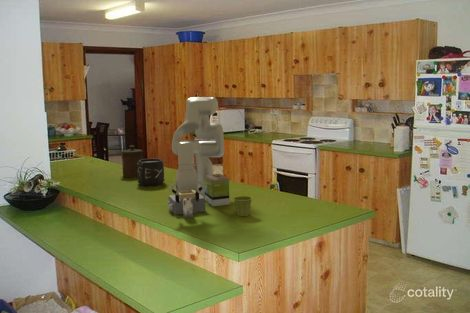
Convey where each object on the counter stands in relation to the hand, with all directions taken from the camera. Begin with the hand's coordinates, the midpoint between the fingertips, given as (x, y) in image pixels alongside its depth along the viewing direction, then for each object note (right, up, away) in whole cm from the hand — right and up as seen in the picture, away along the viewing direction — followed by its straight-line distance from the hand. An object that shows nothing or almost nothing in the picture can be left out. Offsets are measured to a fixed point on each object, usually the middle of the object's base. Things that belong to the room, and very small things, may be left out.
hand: (187, 201), depth 246 cm
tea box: (+13, -4, +30) cm, 33 cm away
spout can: (0, -8, +2) cm, 8 cm away
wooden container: (-50, +8, +114) cm, 125 cm away
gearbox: (-2, -6, +16) cm, 17 cm away
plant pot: (+27, -7, +3) cm, 29 cm away
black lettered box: (-32, +4, +83) cm, 89 cm away
